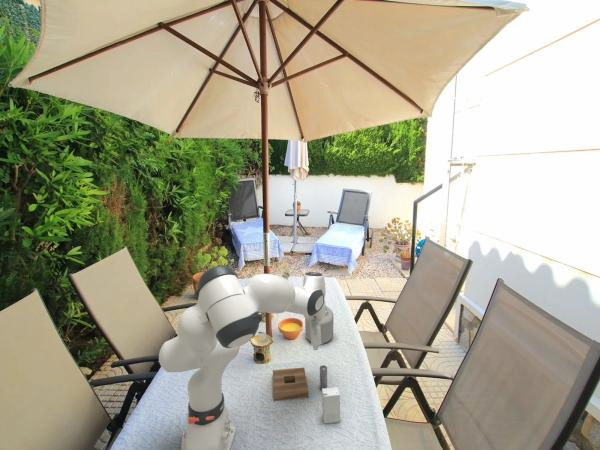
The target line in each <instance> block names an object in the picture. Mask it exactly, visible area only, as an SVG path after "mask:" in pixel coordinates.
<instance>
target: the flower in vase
mask: <svg viewBox="0 0 600 450" xmlns="http://www.w3.org/2000/svg"><path fill="white" fill-rule="evenodd" d="M289 266H290V265H289V263H288V262H287V261H284V262H282V263H281V265H280V268H279V269H280V270H279V271H280V272H281V273H282V275H281V277H283V278H285V279H287V280H288V279H289V277H291V275H290V272H289V271H288V270H289V268H290V267H289ZM288 281H289V280H288Z"/></svg>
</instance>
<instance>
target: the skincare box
mask: <svg viewBox="0 0 600 450" xmlns="http://www.w3.org/2000/svg"><path fill="white" fill-rule="evenodd" d="M340 397H341V394H340V392H339V388H338V387H337V386H335V387H327V388H324V389H322V391H321V398H322V399H321V400H322V402H321V403H322V406H321V407H322V417H323V424H333V423H334V424H335V423H341V398H340Z"/></svg>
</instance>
